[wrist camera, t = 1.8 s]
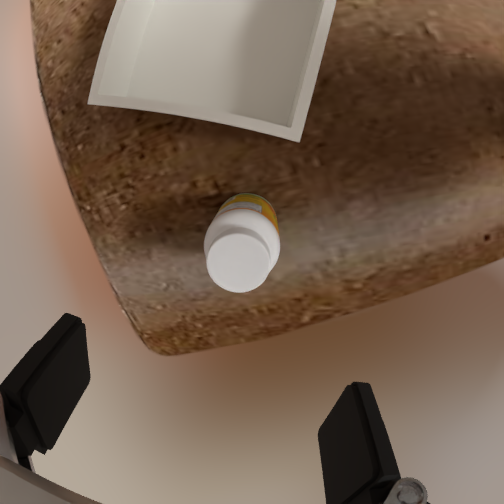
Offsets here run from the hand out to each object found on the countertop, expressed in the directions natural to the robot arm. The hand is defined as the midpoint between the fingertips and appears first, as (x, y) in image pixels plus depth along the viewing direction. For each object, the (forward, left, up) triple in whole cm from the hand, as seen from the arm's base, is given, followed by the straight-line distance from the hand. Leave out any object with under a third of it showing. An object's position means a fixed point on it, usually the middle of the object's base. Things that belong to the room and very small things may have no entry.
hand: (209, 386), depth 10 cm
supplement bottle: (0, 0, -20) cm, 20 cm away
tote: (+6, -18, -20) cm, 27 cm away
